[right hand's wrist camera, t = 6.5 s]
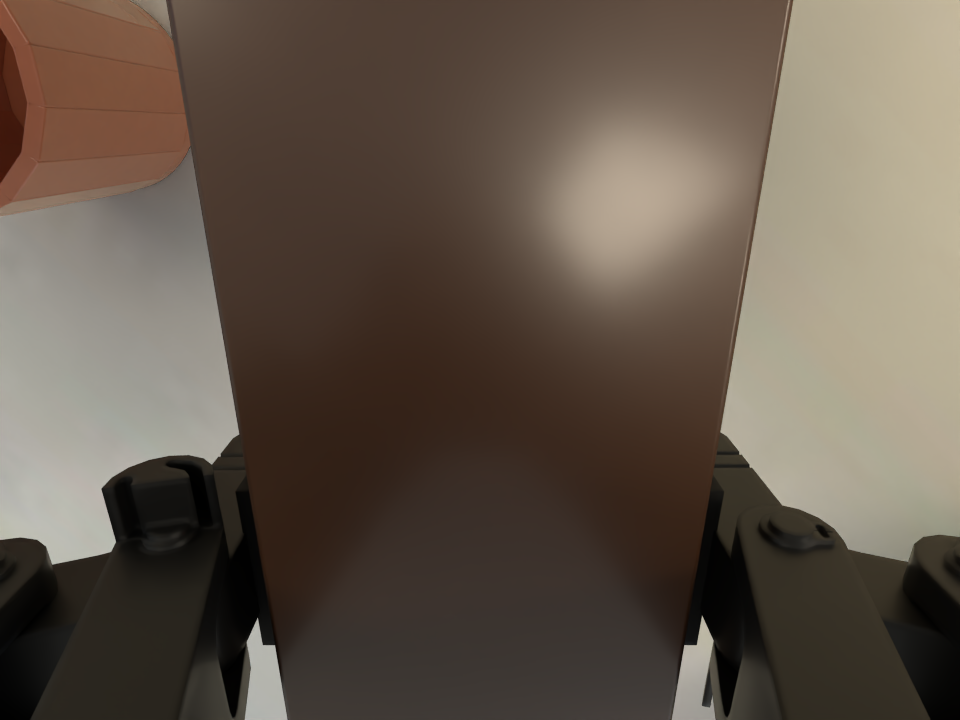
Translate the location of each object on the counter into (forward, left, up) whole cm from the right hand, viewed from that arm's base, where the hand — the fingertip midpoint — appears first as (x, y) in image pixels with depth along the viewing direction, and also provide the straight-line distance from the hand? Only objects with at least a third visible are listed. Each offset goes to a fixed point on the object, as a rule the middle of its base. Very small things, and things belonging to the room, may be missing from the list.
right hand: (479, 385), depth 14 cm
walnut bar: (0, -11, 0) cm, 11 cm away
